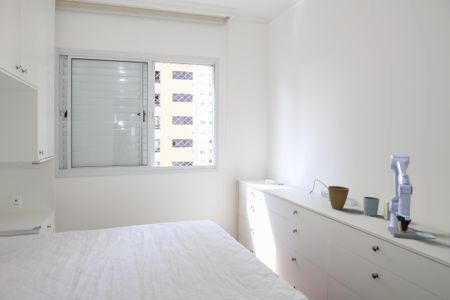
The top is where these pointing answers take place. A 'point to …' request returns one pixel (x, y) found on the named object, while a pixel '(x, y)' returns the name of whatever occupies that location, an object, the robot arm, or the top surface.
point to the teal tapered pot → (371, 206)
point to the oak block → (400, 227)
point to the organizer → (403, 233)
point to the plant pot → (338, 196)
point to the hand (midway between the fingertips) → (402, 229)
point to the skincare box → (386, 210)
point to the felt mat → (425, 235)
